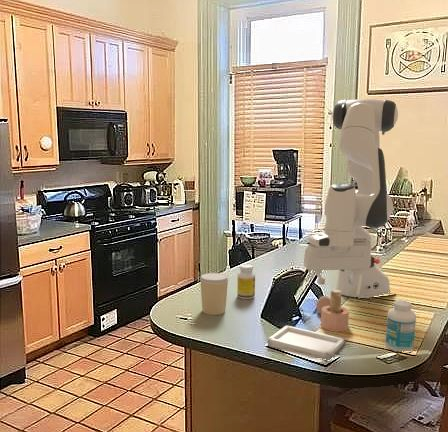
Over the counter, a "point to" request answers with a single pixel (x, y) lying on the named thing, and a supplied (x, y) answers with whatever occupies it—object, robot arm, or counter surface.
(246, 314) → the counter surface
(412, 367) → the counter surface
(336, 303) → the dowel
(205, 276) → the coffee cup
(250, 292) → the pill bottle
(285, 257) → the counter surface
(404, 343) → the pill bottle
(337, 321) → the cup
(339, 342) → the tray
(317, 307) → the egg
